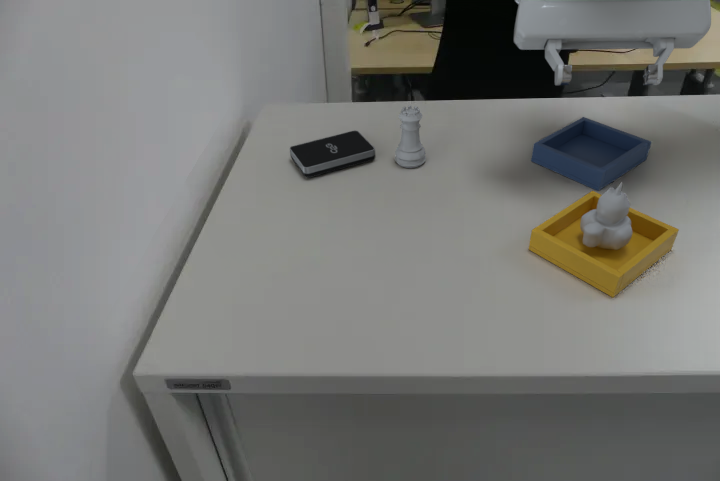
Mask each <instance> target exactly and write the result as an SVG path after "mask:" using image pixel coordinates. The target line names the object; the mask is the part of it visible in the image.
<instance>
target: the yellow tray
mask: <svg viewBox="0 0 720 481" xmlns="http://www.w3.org/2000/svg"><path fill="white" fill-rule="evenodd" d="M601 195H602V194H601V193H599V192H598V191H596V190H591V191H590V192H588V193H587V194H585V195H584V196H582V197H581V198H579V199H577V200H575V201H574V202H573V203H571V204H570V205H568V206H566V207H565V208H563V209H562V210H559V212H557V213H556V214H554V215H552V216H551V217H549V218H548V219H546V220H545V221H544V222H542V223H540V224H538V226H536V227H534V228H533V229H531V232H530V238H529V244H528V251H531V252H532V253H534V254H536V255H537V256H539V257H541V258H543V259H544V260H546V261H547V262H550V263H552V264H553V265H555V266H557V267H558V268H560V269H562V270H564V271H565V272H567V273H569V274H571V275H573V276H574V277H576V278H578V279H579V280H581V281H583V282H585V283H587V284H588V285H590V286H591V287H593V288H595V289H597V290H598V291H601V292H603V294H607V296H610V297H611V298H615V297H616V296H617V295H618V294H619V293H621V292H622V291H623V290H624V289H626V287H628V286H629V285H630V284H632V283H633V282H634V281H635V280H637V279H638V278H639V277H640V276H641V275H642V274H644V273H645V272H646V271H647V270H648V269H649V268H651V267H652V266H653V265H655V264H656V263H657V262H658V261H659V260H661V259H662V258H663V257H664V256H665V255H667V253H669V252H670V251H671V250H672V249H673V247H674V244H675V241H676V239H677V236H678V233H679V231H680V229H679V228H676V227H675V226H672V225H670V224H668V223H665V222H664V221H661V220H659V219H657V218H654V217H652V216H650V215H648V214H645V213H643V212H642V211H639V210H636V209H634V208H632V207H630V208H629V212H628V214H627V216H628V217H629V218H630V220H631V228H632V237H631V239H630V241H629V243H628V244H626V245H625V246H623V247H622V248H620V249H618V250H614V249H603V248H600V247H598V246H596V247H587V246H586V245H584V244H583V236H584V233H583V232H582V231H581V228H580V223H581V218H582V216H583V215H584V214H586V213H587V212H589V211H591V210H594V209H597V204H598V200H599V198H600V196H601Z"/></svg>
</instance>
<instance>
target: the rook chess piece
mask: <svg viewBox="0 0 720 481" xmlns="http://www.w3.org/2000/svg"><path fill="white" fill-rule="evenodd" d="M412 107H413V108H412ZM422 118H423V114H422V112H421V109H420V107H419V106H417V105H414V106H412V105H407V107H406V106H403V107H402V108H401V109H400V113H399V114H398V119H399V120H400V121H401V124H400V125H399V128H400V129H401V134H400V142H399V143H398V145H397V147H396V149H395V151H394V154H395V156H394V161H395V162H396V163H397V164H398V166H400V167H402V168H407V169H414V168H419V167H420V166H422V165H423V164H424V163H425V161H426V160H427V158H426V154H427V153H426V148H425V147H424V146H423V143H422V142H421V137H420V129H421V127H422V126H421V123H420V121H421V120H422Z"/></svg>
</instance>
